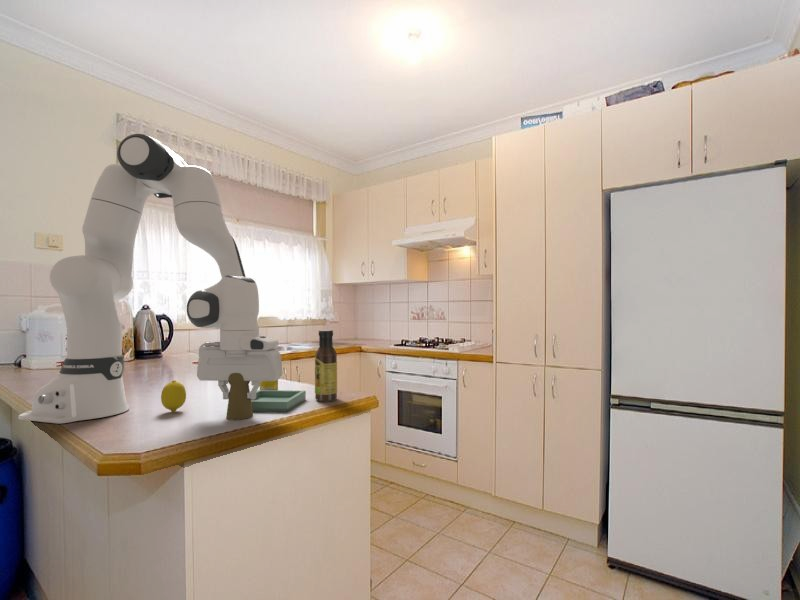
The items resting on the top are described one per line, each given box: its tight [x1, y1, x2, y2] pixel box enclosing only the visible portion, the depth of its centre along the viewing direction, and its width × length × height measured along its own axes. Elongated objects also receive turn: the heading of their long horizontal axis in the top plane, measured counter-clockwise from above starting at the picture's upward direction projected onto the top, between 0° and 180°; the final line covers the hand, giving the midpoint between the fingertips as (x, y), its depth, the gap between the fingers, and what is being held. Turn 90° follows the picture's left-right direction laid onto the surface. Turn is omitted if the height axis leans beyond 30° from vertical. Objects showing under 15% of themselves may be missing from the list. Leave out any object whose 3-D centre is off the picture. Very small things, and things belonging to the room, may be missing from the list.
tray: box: [251, 389, 307, 413], centre depth 108 cm, size 14×14×2 cm
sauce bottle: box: [314, 329, 338, 403], centre depth 114 cm, size 6×6×20 cm
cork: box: [225, 373, 254, 420], centre depth 97 cm, size 6×6×11 cm
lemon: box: [160, 379, 187, 413], centre depth 102 cm, size 6×6×8 cm
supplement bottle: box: [259, 379, 279, 390], centre depth 123 cm, size 5×5×10 cm
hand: (239, 399), depth 97 cm, fingers closed on cork, 5 cm apart
